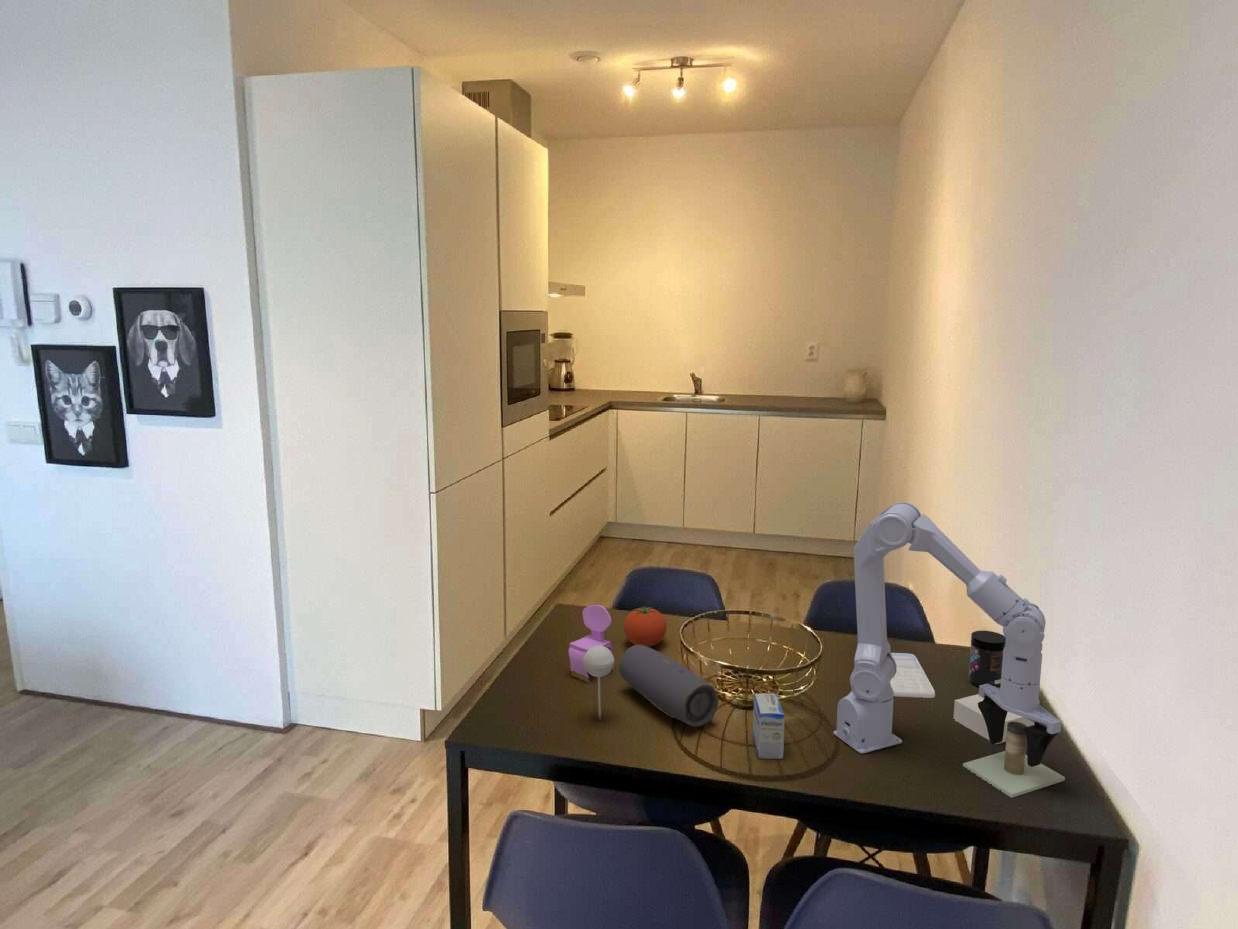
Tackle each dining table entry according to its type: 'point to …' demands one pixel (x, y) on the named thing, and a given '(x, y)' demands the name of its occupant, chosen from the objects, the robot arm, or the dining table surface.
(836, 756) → the dining table surface
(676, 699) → the bluetooth speaker
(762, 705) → the medicine box
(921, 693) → the calculator
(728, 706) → the dining table surface
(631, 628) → the tomato
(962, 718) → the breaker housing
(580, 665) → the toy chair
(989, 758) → the sage board
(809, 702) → the dining table surface
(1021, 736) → the tan lidded jar
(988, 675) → the supplement container
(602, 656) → the lollipop
